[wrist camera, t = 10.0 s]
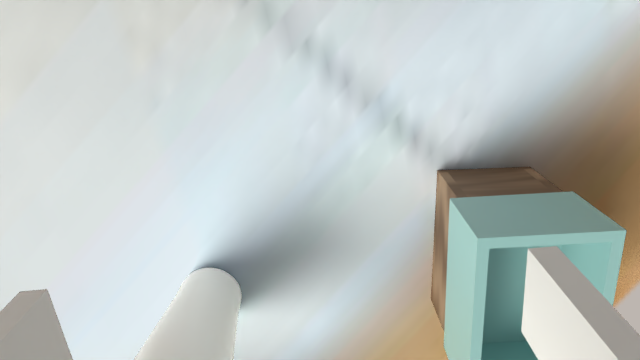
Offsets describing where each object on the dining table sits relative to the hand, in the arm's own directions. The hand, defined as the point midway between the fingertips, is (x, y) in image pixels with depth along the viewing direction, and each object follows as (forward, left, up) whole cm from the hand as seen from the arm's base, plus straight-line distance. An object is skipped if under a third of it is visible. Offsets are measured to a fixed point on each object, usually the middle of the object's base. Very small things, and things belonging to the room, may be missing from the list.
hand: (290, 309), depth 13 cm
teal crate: (+11, +14, -20) cm, 27 cm away
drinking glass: (+15, -9, -25) cm, 31 cm away
